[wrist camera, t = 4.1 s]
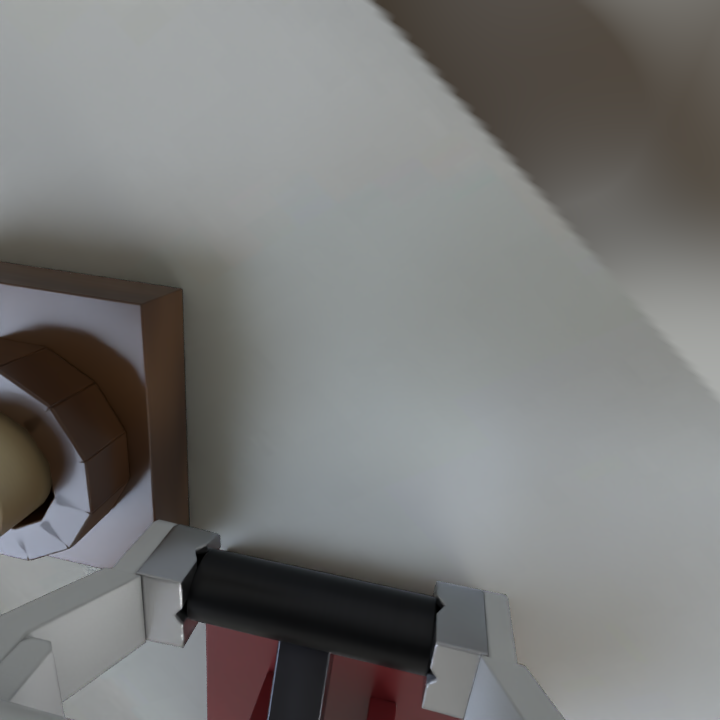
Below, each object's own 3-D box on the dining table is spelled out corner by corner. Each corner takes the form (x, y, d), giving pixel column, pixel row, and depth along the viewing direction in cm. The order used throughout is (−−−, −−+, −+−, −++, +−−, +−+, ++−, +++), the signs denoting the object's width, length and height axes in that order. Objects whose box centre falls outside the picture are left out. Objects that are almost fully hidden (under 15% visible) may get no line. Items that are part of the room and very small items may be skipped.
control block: (-38, 255, 16) (-182, 276, 13) (183, 288, 15) (96, 321, 12) (8, 499, 20) (-94, 572, 16) (190, 539, 19) (126, 626, 15)
